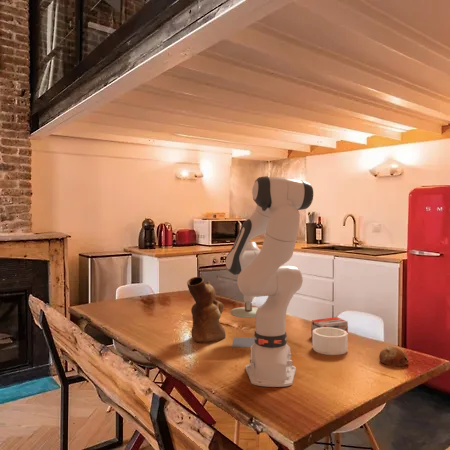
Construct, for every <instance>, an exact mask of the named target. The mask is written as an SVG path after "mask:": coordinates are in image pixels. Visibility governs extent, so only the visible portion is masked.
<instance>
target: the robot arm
mask: <svg viewBox="0 0 450 450" xmlns="http://www.w3.org/2000/svg"><path fill="white" fill-rule="evenodd" d="M251 193H252V199H253V201H254V203H255V204H256V206H255V210H254V212H253V213H252V215H251V216H250V217H249V218H248V219H246V220H244V222H243V223H242V225H241V227H240V229H239V231H238V232H237V233H238V234H237V236H236V238H235V240H234V243H233V245H232V247H231V249H230V250H229V252H228V254H227V255H226V258H225V267H226V270H227V271H228V272H230V273H231V274H232V275H233V276H236V275H238V276H237V279H236V280H237V281H236V282H237V284H236V285H237V287H238V290H239V291H240V293H241V294H242V295H243V302H244V303H246V309H247V310H250V305H251V303H253V298H258V297H259V298H260V297H267V298H266V300H265V301H264V303H263V304H261V305H260V306H258V307H257V308H258V309H257V311H256V317H255V330H254V335H253V337H254V341H255V343H254V344H253V345H252V346H251V348H250V359H249V364H245V366H244V369H245V372H246V374H247V377H248V378H249V381H250V383H251V385H253V386H259V387H270V388H271V387H272V388H276V387H278V388H280V387H281V388H282V387H289V386H292V385H293V382H294V378H295V375H296V372H297V367H296V366H295V365H293V364H294V363H293V360H292V359H291V358H292V355H293V354H292V353H291V346H289V345H288V344H287V341H288V340H287V339H288V334H287V332H286V318H287V317H286V316H287V311H288V307H289V304H290V303H291V300H292V298H293V297H294V296H295V294H296V293H297V292H298V291H299V290H300V289H301V288H302V285H303V279H304V277H303V274H302V272H301V270H300V269H299V268H298V267H297V266H295V265H290V264H289V265H288V264H286V263H287V262H289V261H290V260H291V258H292V257H293V255H294V251H295V247H296V242H297V238H298V234H299V228H300V221H301V220H300V218H301V217H300V216H301V215H300V212H299V211H300V210H301V211H302V210H307V209H308V208H309V207H310V206H311V205H312V203H313V200H314V188H313V186H312V184H311V183H309V182H307V181H304V180H298V179H291V178H288V177H287V178H286V177H282V176H281V177H279V176H269V175H268V176H260V177H257V178H256V179H255V181H254V183H253V186H252V192H251ZM264 234H265V235H264ZM261 235H264V238H263V242H262V245H261V248H259V246H258V244H257V242H255V241H251V240H253V239H254V238H256V237H258V236H261Z"/></svg>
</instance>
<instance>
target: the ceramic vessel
mask: <svg viewBox="0 0 450 450" xmlns="http://www.w3.org/2000/svg"><path fill="white" fill-rule="evenodd" d="M186 284H187V288H188V290H189V293H190V294H191V296H192V298H193V300H194V301H195V302H194V304H193V305H192V307H191V310H190V311H191V315H192V316H191V317H192V327H191V330H190V331H191V332H190V333H191V339H193V341H195V342H196V343H199V344H211V343H216V342H219V341H221V340H223V339H225V338H226V330H225V328H224V327H223V325H222V324H221V323H220V319H221V316H222V313H223V312H224V304H223V302H221V301H219V300H217V299H216V296H217V295H216V289H215V288H214V286H213V285H211V282H210V280H207V281H206V282H205V280H204V278H203V277H202V276H195V277H192V278H190V279H188V280H187V281H186Z"/></svg>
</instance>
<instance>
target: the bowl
mask: <svg viewBox="0 0 450 450" xmlns="http://www.w3.org/2000/svg"><path fill="white" fill-rule="evenodd" d="M311 340H312V350H313V351H314V352H316V353H318V354H320V355H325V356H326V355H327V356H342V355H345V354H346V353H348V348H349V333H347V332H346V331H344V330H342V329H338V328H332V327H321V328H316V329H314V330H313V337H312V339H311Z"/></svg>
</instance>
